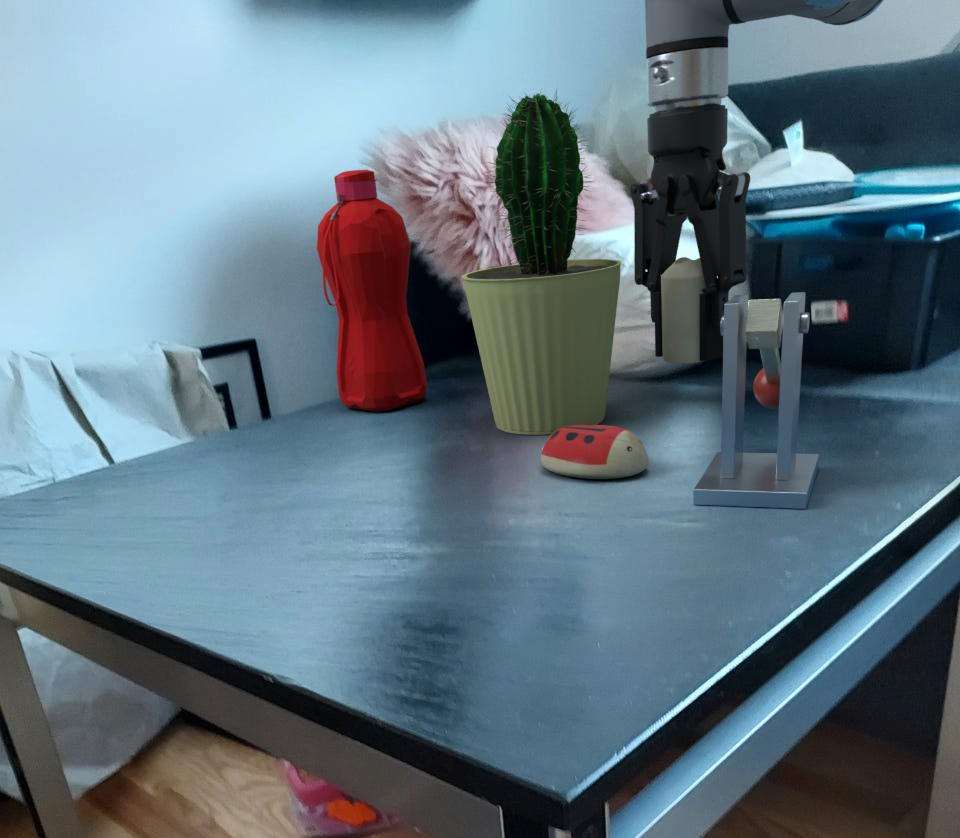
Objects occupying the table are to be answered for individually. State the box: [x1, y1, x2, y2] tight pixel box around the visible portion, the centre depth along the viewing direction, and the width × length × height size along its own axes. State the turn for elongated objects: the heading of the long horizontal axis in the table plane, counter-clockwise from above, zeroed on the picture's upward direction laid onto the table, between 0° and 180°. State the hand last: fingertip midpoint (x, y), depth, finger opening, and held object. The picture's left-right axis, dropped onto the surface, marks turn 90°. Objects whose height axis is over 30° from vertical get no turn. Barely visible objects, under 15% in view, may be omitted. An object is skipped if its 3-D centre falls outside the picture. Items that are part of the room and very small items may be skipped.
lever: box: [745, 298, 784, 410], centre depth 73 cm, size 14×4×4 cm
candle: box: [661, 256, 706, 365], centre depth 98 cm, size 6×6×10 cm
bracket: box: [692, 291, 820, 510], centre depth 70 cm, size 10×8×14 cm
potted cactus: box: [461, 88, 622, 436], centre depth 92 cm, size 15×15×30 cm
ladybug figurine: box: [540, 424, 650, 480], centre depth 80 cm, size 7×10×4 cm
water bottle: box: [316, 169, 428, 413], centre depth 107 cm, size 9×11×25 cm
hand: (688, 356), depth 100 cm, fingers closed on candle, 5 cm apart
